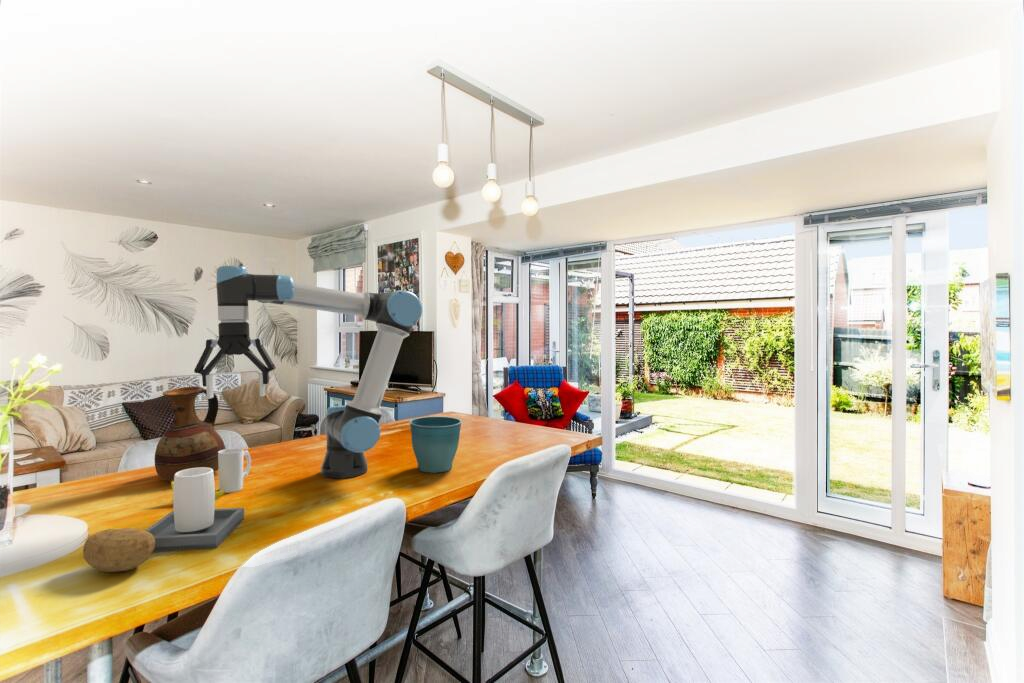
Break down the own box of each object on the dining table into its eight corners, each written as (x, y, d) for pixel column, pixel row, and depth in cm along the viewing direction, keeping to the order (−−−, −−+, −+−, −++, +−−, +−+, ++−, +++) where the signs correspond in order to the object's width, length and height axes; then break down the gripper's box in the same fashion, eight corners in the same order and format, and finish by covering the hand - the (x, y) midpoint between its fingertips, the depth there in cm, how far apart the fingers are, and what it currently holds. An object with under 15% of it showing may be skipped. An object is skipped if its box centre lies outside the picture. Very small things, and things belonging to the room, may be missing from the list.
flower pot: (471, 466, 178) (471, 419, 178) (438, 479, 163) (438, 428, 162) (433, 459, 188) (433, 414, 187) (398, 470, 173) (398, 422, 172)
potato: (113, 555, 108) (112, 519, 108) (168, 561, 105) (168, 524, 105) (65, 577, 98) (64, 537, 98) (125, 584, 96) (124, 544, 95)
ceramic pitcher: (140, 481, 159) (139, 388, 158) (200, 465, 177) (200, 381, 177) (181, 489, 151) (180, 391, 150) (240, 471, 170) (239, 384, 169)
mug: (228, 494, 147) (227, 454, 146) (213, 491, 150) (212, 452, 149) (258, 485, 156) (257, 447, 155) (243, 482, 159) (243, 444, 158)
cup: (184, 540, 113) (183, 479, 112) (166, 532, 117) (165, 473, 117) (222, 528, 120) (221, 470, 120) (203, 520, 124) (203, 464, 124)
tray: (244, 519, 128) (244, 507, 128) (216, 548, 112) (216, 534, 112) (172, 522, 126) (172, 511, 126) (132, 553, 109) (132, 539, 109)
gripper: (284, 320, 145) (287, 392, 146) (190, 322, 140) (193, 396, 141) (278, 321, 138) (280, 396, 139) (178, 322, 133) (181, 401, 133)
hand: (236, 397), depth 140 cm, fingers open, 13 cm apart
